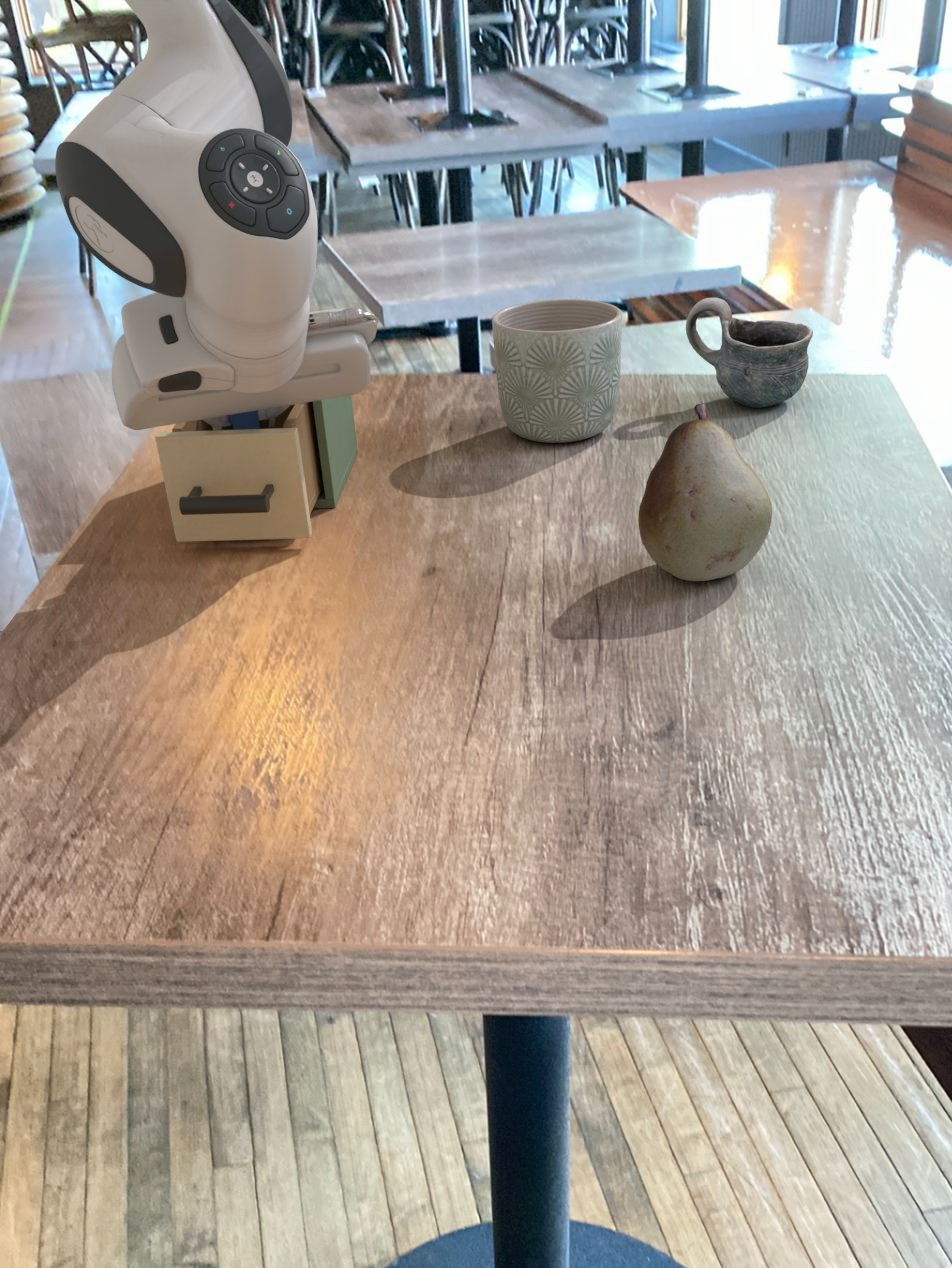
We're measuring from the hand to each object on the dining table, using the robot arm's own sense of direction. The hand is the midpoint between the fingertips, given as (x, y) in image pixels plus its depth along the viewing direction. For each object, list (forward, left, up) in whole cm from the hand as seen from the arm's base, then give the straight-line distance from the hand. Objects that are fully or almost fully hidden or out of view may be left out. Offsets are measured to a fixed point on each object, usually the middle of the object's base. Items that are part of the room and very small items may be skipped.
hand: (241, 423), depth 112 cm
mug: (+45, +29, -9) cm, 54 cm away
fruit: (+38, -13, -9) cm, 41 cm away
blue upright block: (0, -1, -4) cm, 4 cm away
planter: (+26, +22, -9) cm, 35 cm away
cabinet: (0, +10, -8) cm, 13 cm away
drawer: (0, -2, -8) cm, 8 cm away
